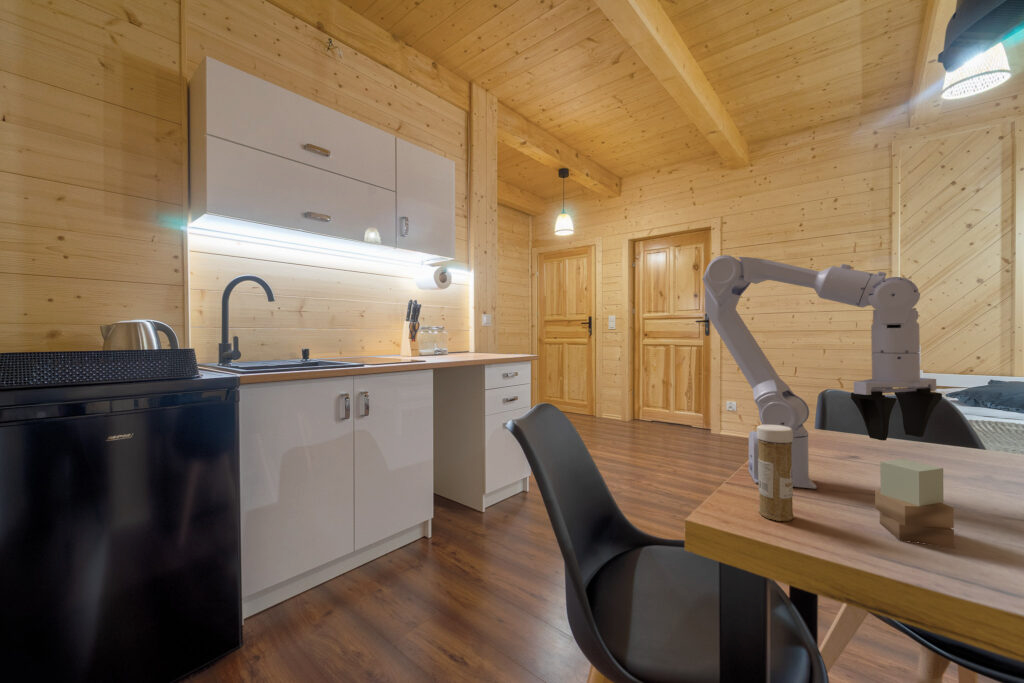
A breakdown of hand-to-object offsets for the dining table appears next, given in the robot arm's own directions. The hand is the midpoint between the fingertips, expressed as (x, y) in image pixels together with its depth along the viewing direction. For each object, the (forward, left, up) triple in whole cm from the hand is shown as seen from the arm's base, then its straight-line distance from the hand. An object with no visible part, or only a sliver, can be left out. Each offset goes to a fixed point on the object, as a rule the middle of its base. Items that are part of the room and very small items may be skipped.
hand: (896, 437), depth 68 cm
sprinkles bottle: (-19, -12, -11) cm, 25 cm away
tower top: (-3, -13, -8) cm, 16 cm away
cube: (-3, -13, -6) cm, 14 cm away
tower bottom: (-3, -13, -11) cm, 17 cm away
